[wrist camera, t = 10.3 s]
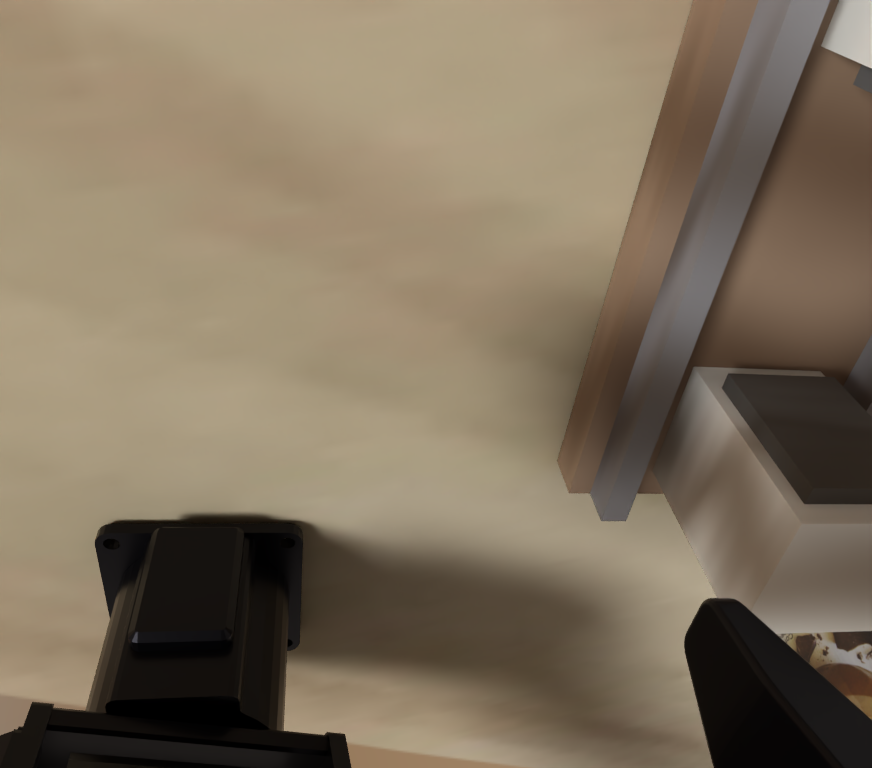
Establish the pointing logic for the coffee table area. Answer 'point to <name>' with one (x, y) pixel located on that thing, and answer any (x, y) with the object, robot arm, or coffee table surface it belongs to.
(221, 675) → the robot arm
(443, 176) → the coffee table surface
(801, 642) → the coffee box
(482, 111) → the coffee table surface
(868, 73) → the off-white square prism
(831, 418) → the rail
